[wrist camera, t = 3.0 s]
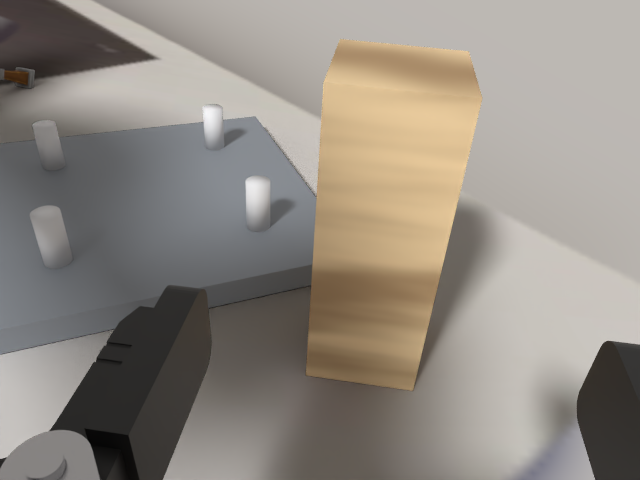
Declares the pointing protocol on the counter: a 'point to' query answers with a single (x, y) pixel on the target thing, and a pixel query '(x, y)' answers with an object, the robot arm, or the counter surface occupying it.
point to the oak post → (385, 205)
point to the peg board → (144, 223)
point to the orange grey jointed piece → (19, 77)
